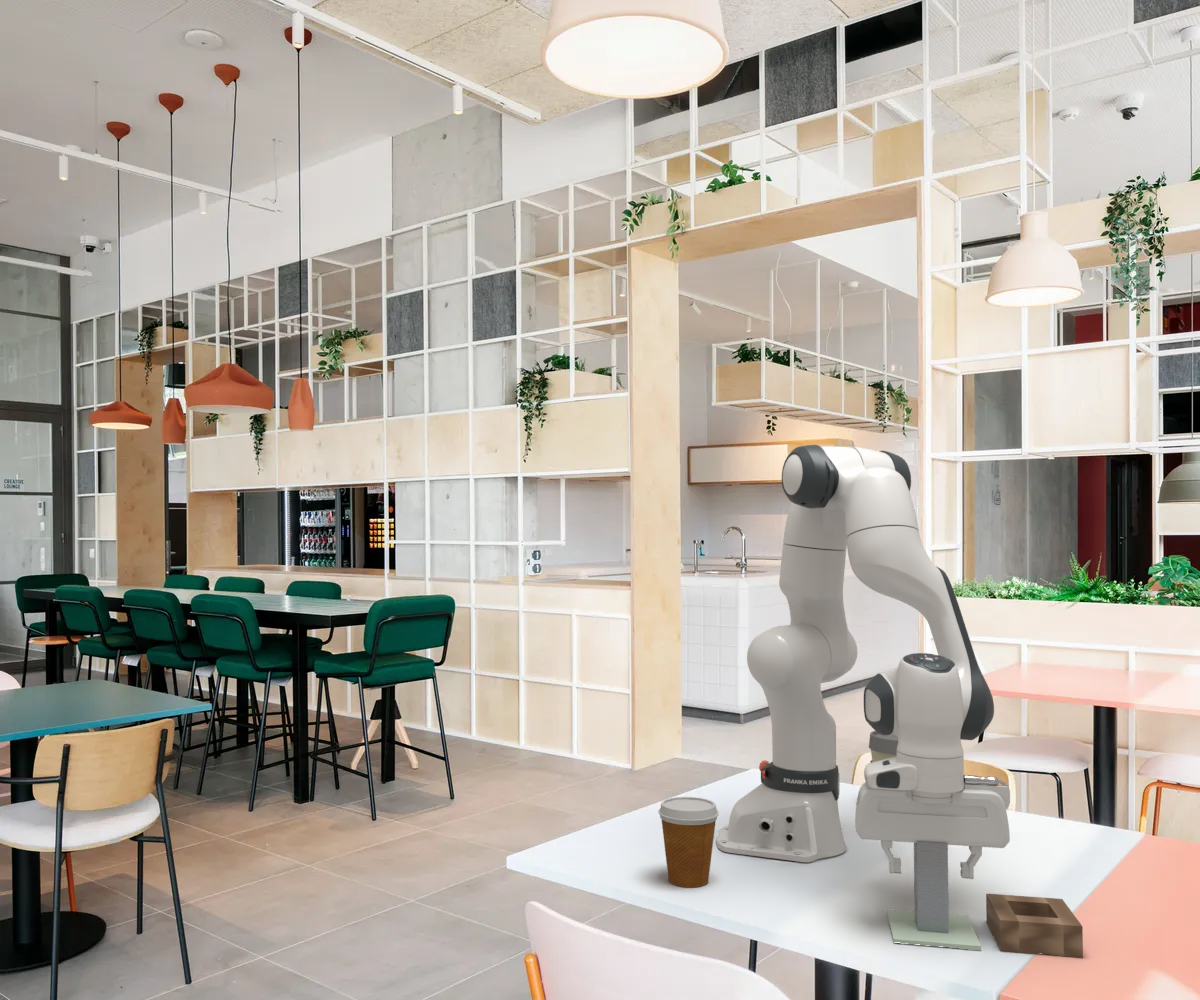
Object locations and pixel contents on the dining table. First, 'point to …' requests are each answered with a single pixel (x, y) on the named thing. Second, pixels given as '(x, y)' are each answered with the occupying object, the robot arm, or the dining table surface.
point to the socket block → (1034, 925)
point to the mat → (957, 937)
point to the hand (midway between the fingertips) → (930, 874)
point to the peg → (931, 886)
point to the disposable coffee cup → (688, 839)
